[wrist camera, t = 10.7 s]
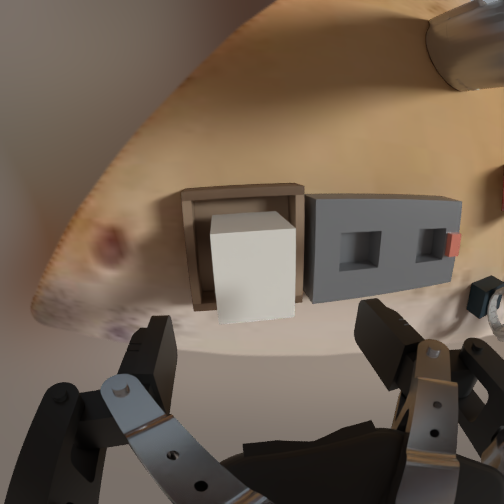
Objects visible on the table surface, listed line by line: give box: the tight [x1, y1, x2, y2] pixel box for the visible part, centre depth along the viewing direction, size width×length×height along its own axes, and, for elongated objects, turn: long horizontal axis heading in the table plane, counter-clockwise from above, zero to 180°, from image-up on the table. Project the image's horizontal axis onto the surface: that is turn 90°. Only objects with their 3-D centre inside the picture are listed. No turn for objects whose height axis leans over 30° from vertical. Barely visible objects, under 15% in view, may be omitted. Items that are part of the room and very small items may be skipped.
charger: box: [210, 211, 296, 324], centre depth 21 cm, size 6×5×8 cm
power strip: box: [303, 194, 462, 304], centre depth 25 cm, size 9×17×4 cm, turn 92°
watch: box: [467, 275, 504, 341], centre depth 27 cm, size 6×8×11 cm
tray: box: [181, 183, 304, 311], centre depth 24 cm, size 10×9×3 cm
